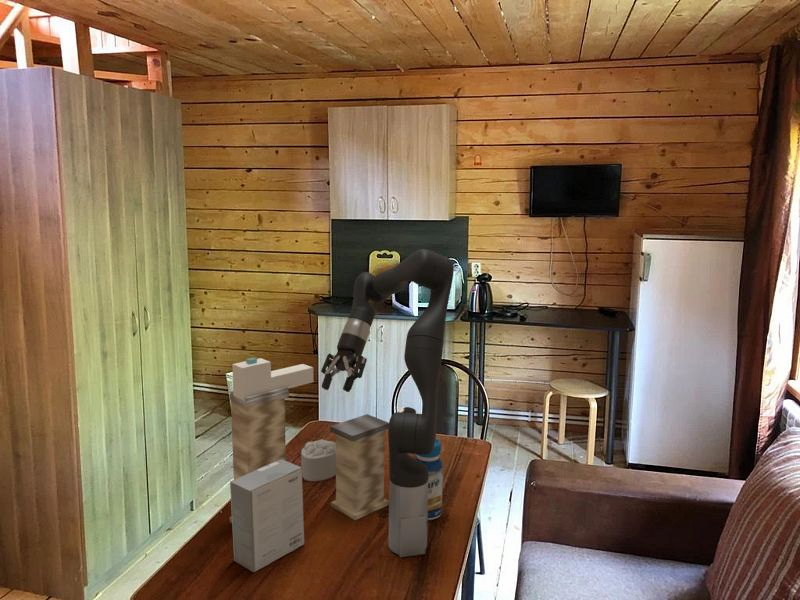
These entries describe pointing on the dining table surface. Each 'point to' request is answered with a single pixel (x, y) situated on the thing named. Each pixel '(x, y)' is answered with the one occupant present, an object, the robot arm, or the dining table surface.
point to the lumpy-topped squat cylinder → (318, 460)
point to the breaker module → (266, 377)
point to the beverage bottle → (434, 480)
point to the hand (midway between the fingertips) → (335, 389)
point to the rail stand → (258, 431)
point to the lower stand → (359, 466)
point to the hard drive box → (267, 514)
